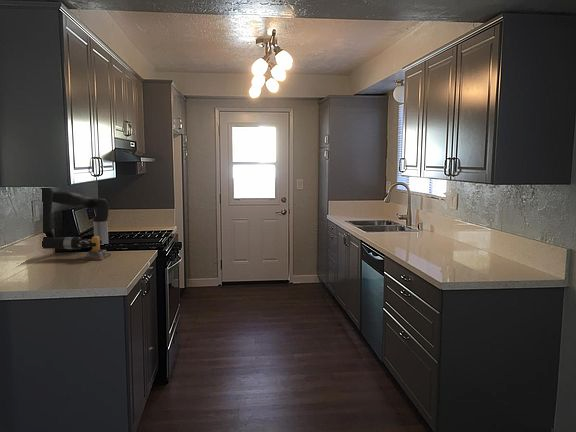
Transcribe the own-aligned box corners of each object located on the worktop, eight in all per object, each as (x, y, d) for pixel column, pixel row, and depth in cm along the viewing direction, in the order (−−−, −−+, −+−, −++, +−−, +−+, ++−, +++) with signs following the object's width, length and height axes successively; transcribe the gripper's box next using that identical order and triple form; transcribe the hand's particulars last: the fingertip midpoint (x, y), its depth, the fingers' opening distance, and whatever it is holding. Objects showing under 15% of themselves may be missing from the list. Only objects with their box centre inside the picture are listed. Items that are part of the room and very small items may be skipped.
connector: (94, 255, 297) (93, 236, 296) (101, 255, 297) (100, 236, 296) (91, 256, 293) (90, 237, 291) (98, 256, 293) (97, 237, 291)
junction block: (92, 254, 303) (91, 248, 302) (110, 254, 303) (110, 248, 302) (81, 260, 288) (81, 253, 287) (101, 260, 288) (101, 253, 287)
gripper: (67, 239, 286) (93, 239, 286) (77, 235, 301) (103, 235, 300) (68, 251, 287) (94, 251, 287) (78, 246, 302) (103, 247, 301)
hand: (98, 243), depth 294 cm, fingers open, 8 cm apart
